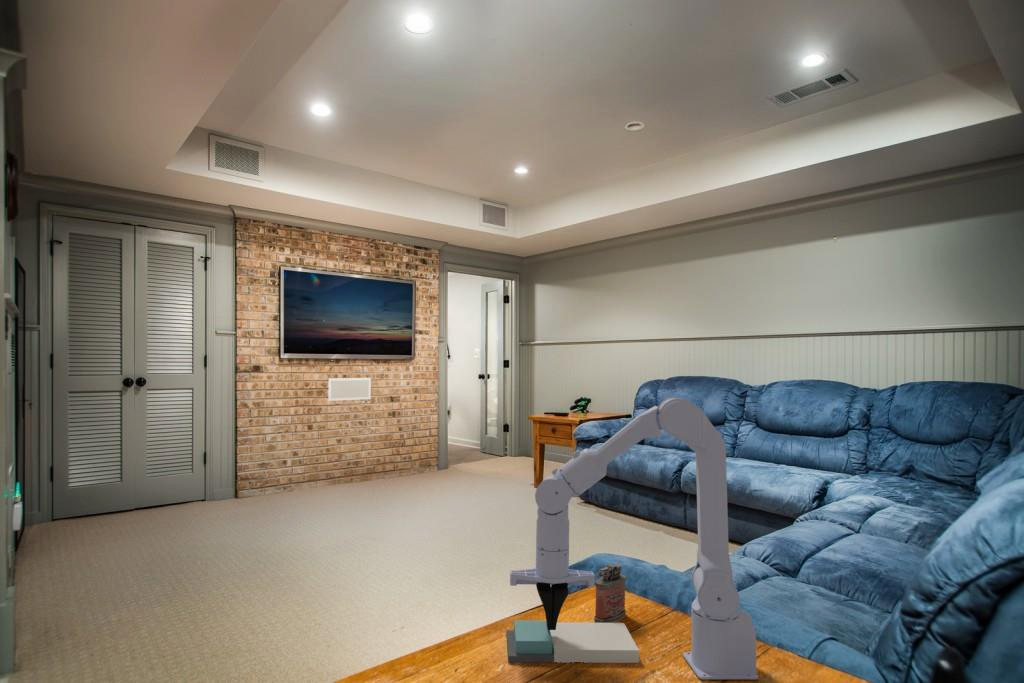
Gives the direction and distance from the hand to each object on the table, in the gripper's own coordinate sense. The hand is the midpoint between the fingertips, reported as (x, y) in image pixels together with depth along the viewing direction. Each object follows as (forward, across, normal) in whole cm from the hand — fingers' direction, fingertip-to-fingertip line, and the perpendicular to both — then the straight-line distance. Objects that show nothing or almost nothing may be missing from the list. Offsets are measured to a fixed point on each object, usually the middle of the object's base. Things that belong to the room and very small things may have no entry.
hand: (551, 627), depth 97 cm
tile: (+2, +3, 0) cm, 4 cm away
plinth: (+3, -7, 0) cm, 8 cm away
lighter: (+4, -13, -12) cm, 18 cm away
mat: (+3, +4, 0) cm, 5 cm away
